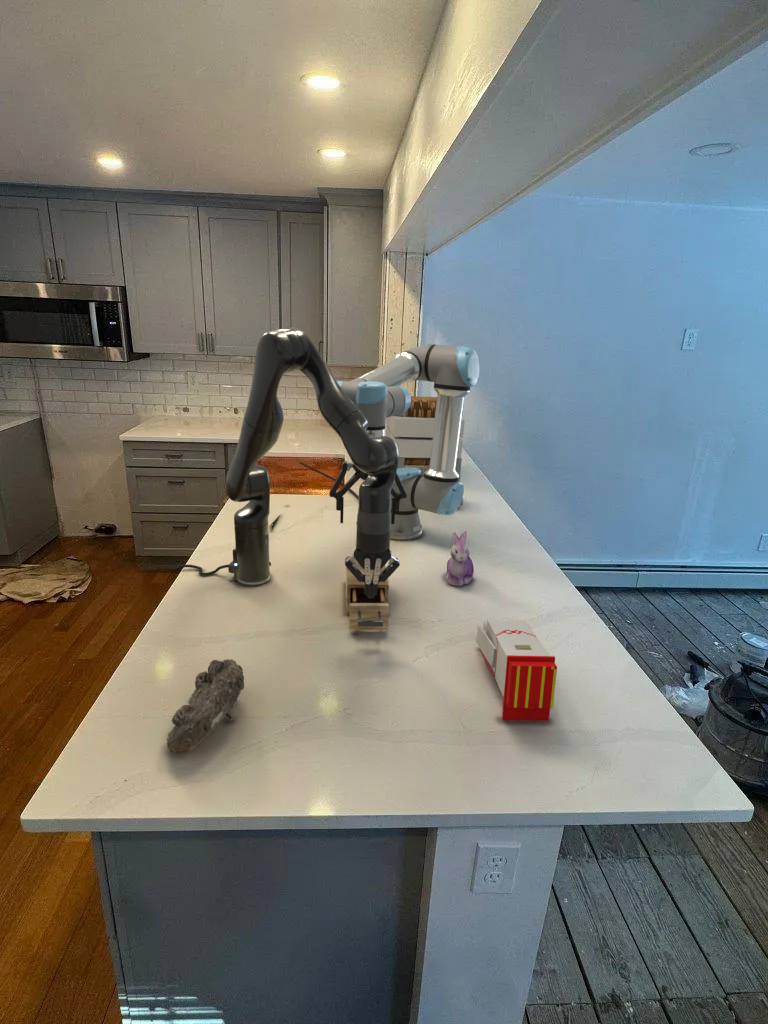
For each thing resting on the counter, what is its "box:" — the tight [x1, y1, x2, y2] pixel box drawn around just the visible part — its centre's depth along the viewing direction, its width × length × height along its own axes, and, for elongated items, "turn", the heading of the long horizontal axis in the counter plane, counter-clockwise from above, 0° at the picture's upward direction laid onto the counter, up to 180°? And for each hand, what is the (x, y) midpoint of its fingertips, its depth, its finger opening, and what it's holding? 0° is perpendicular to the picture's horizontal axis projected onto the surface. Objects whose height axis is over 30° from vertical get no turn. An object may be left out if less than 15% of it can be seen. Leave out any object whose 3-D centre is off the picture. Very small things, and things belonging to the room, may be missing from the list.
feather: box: [268, 504, 288, 532], centre depth 209 cm, size 2×28×2 cm
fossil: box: [166, 658, 245, 754], centre depth 106 cm, size 22×10×15 cm
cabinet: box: [345, 555, 390, 616], centre depth 153 cm, size 17×11×9 cm, turn 4°
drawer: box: [348, 588, 390, 631], centre depth 142 cm, size 22×9×7 cm, turn 4°
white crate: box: [385, 385, 465, 482], centre depth 268 cm, size 34×33×41 cm
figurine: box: [445, 530, 475, 587], centre depth 165 cm, size 9×10×15 cm
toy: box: [475, 618, 558, 722], centre depth 122 cm, size 12×13×30 cm
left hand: (370, 596), depth 131 cm, fingers closed
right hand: (367, 522), depth 152 cm, fingers open, 13 cm apart
